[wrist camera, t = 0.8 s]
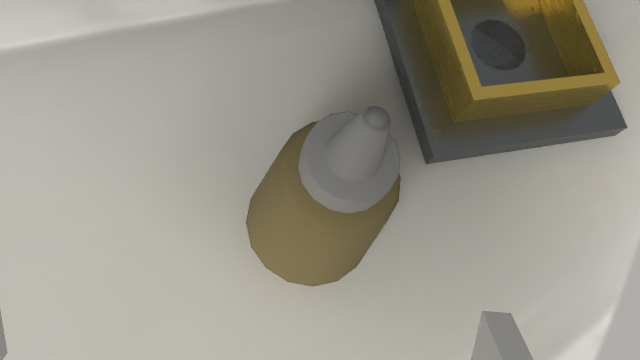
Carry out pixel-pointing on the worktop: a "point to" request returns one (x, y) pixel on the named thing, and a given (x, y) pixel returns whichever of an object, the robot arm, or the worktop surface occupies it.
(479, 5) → the plate
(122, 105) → the worktop surface
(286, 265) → the squeeze bottle
